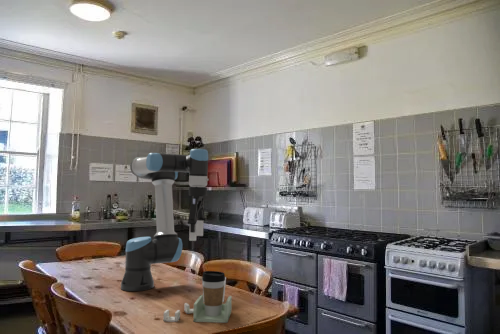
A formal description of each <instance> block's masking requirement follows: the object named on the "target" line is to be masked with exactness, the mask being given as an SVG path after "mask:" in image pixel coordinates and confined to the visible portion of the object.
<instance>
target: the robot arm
mask: <svg viewBox="0 0 500 334" xmlns="http://www.w3.org/2000/svg"><path fill="white" fill-rule="evenodd" d="M129 169H130V171H131V173H132V174H133V175H134V176H136V178H139V179H143V180H151V184H152V185H153V186H154V191H155V192H154V193H155V194H154V195H155V198H154V199H155V216H156V217H155V220H156V221H155V222H156V223H155V224H156V233H155V234H154V235H153V238H152V237H151V236H140V237H133V238H131V239H129V240H127V241H126V244H125V263H124V264H125V265H124V267H125V269H124V270H125V271H124V273H123V277H122V280H121V283H120V289H121V290H122V291H126V292H140V291H142V292H143V291H148V290H151V289H153V288H154V287H155V280H154V277H153V273H152V272H151V271H152V270H151V265H153V264H154V265H155V264H156V265H157V264H167V263H168V264H169V263H174V262H175V263H176V262H178V260H180V258H181V256H182V253H183V240H182V238H180V237H178V232H176V231H175V220H174V204H173V203H174V201H173V185H174V183H175V180H177V179H178V176H179V173H185V174H186V173H188V174H189V175H188V185H189V187H188V196H190V197H193V198H190V208H189V209H190V210H189V214H188V215H189V216H188V221H187V224H189V231H188V233H189V235H188V237H189V238H188V240H189V241H190V242H191V241H192V242H193V241H194V242H196V241H197V237H203V236H204V221H206V217H205V203H204V201H205V199H204V197H207V196H208V188H207V185H208V181H209V179H210V178H208V173H209V172H208V169H209V152H208V150H207V149H204V148H203V149H202V148H192V149H190V151H189V154H177V153H172V154H171V153H159V152H149V153H148V154H147V155H145V156H138V157H135V158H134V159H132V160H131V162H130V165H129Z"/></svg>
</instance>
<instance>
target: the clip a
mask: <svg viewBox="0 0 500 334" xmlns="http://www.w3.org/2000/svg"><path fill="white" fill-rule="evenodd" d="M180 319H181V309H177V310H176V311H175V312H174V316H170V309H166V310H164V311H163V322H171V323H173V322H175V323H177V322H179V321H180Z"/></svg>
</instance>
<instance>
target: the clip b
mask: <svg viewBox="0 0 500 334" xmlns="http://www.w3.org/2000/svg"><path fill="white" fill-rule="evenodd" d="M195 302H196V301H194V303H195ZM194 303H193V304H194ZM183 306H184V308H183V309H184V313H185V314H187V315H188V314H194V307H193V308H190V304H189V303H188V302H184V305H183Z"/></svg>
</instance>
